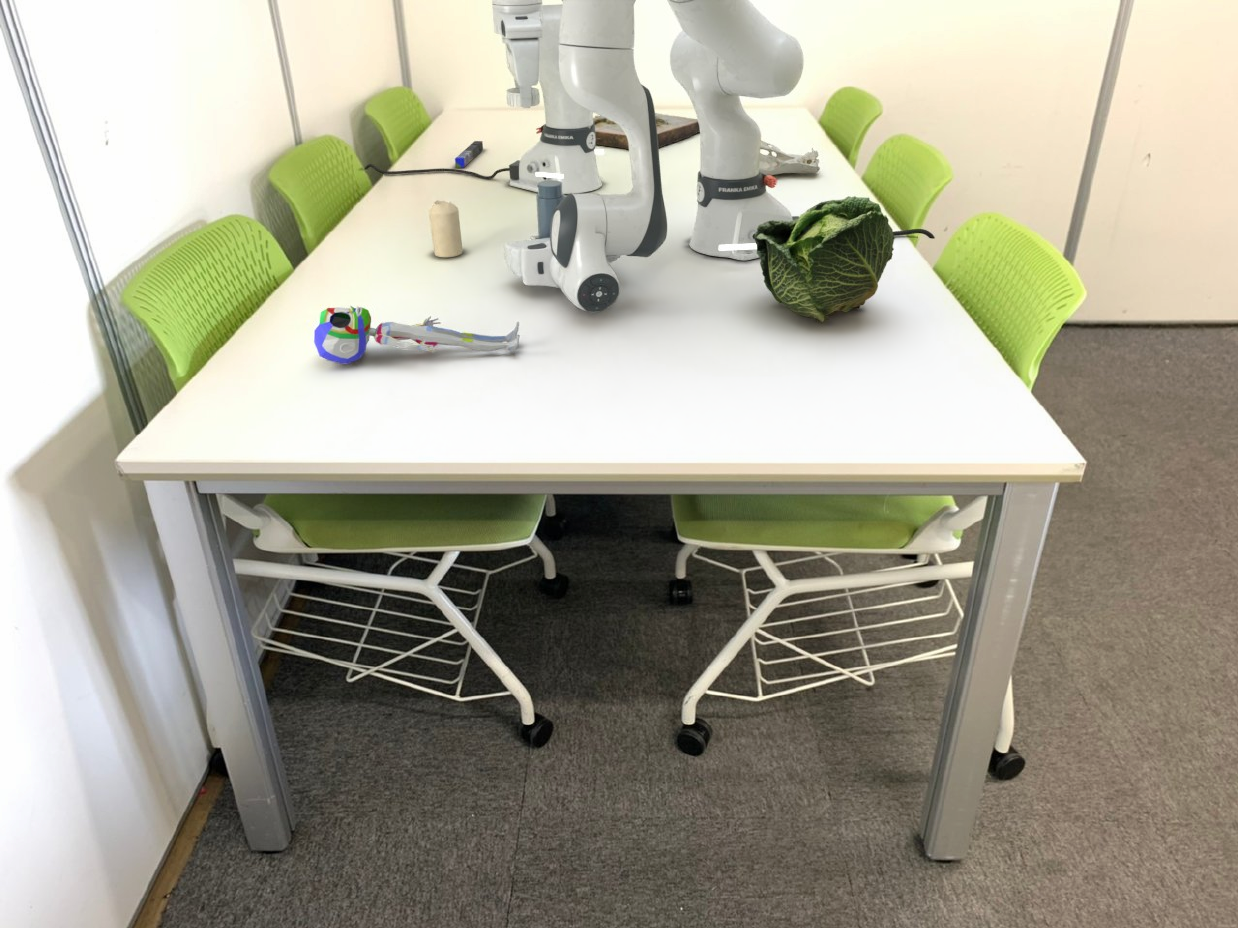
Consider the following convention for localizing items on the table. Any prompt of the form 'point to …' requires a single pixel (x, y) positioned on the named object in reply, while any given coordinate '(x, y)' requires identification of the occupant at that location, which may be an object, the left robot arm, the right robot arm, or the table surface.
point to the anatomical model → (787, 161)
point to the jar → (547, 204)
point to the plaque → (666, 130)
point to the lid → (514, 97)
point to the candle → (445, 229)
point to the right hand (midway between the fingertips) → (551, 237)
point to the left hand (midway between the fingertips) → (523, 103)
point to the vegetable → (826, 256)
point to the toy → (392, 335)
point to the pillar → (468, 154)
